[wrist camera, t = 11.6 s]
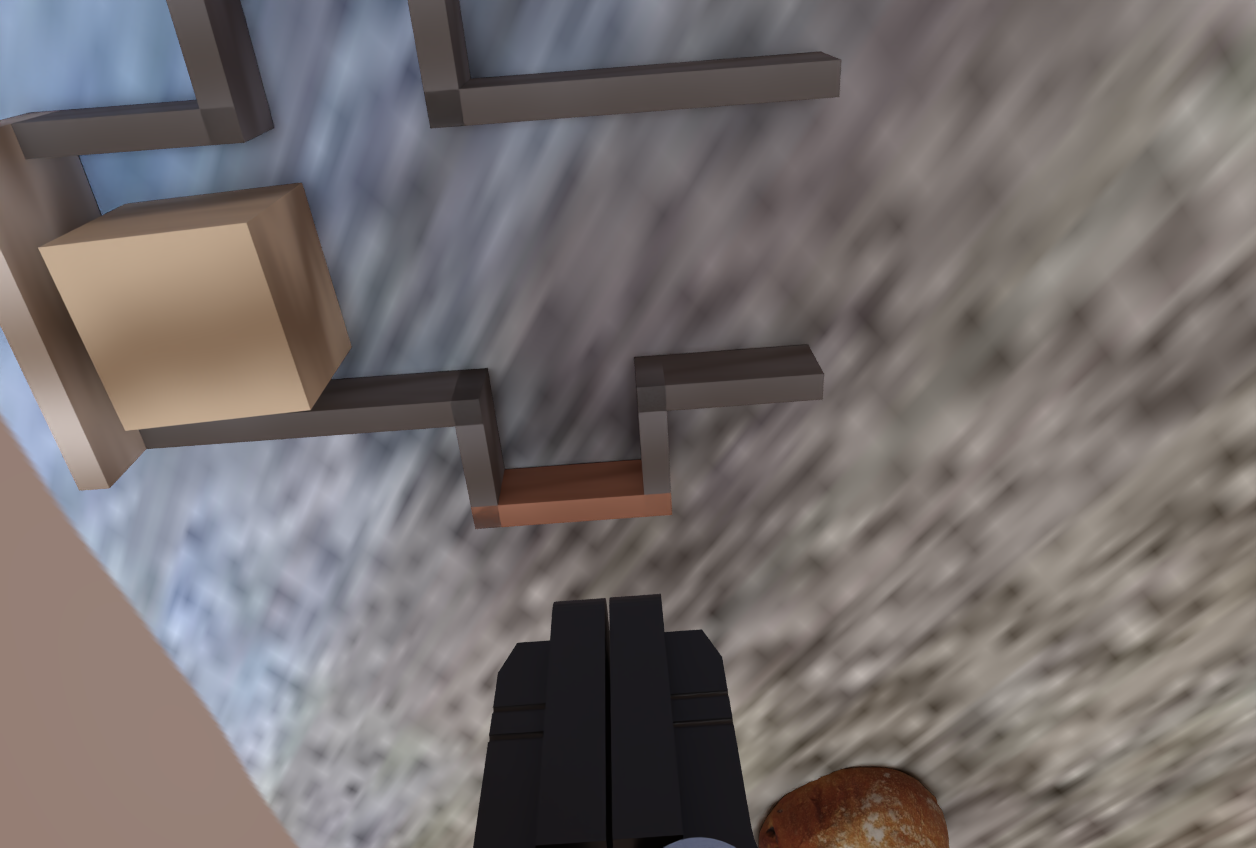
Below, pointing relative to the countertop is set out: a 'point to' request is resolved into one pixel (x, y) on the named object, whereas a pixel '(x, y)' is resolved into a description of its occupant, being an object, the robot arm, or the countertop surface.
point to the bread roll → (857, 813)
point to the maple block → (203, 305)
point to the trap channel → (102, 450)
